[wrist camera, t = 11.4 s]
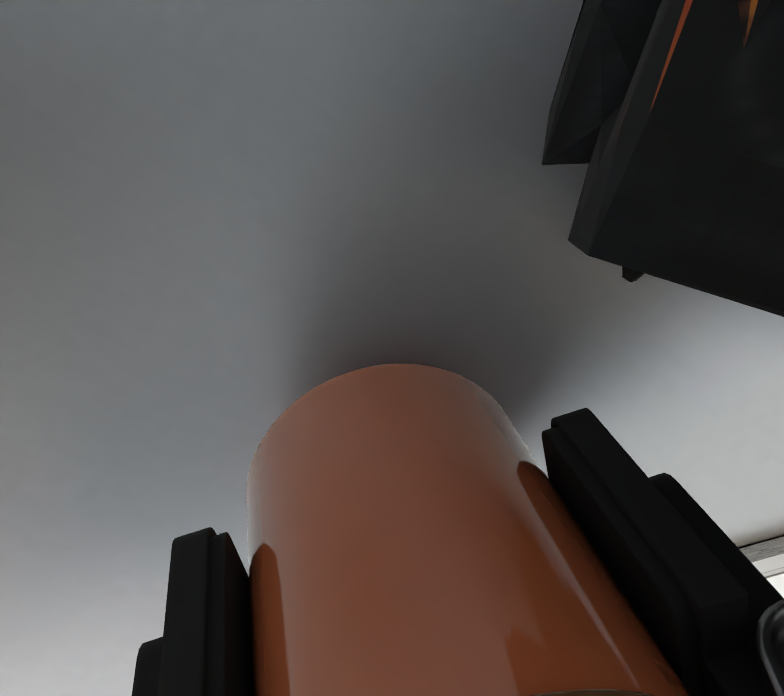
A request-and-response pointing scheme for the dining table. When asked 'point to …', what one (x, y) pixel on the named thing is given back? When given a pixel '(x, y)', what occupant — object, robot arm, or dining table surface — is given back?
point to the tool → (678, 142)
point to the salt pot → (426, 554)
